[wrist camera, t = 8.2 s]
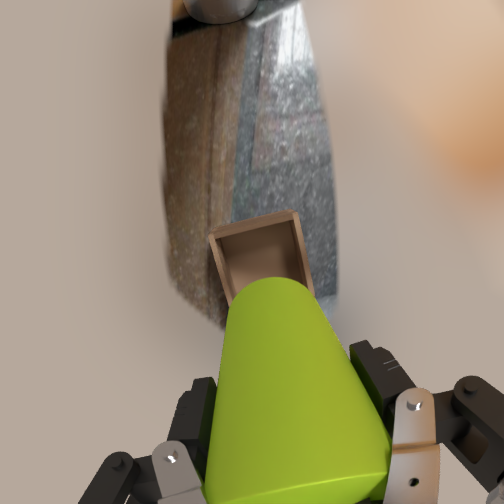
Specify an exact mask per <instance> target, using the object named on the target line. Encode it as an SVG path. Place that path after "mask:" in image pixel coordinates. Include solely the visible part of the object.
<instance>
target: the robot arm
mask: <svg viewBox="0 0 504 504" xmlns="http://www.w3.org/2000/svg"><path fill="white" fill-rule="evenodd" d="M183 2H184V5H185V7H186V10H187V12H188V13H189V15H190V16H191V17H193V18H194V19H196V20H198V21H200V22H204V23H209V24H224V23H230V22H234V21H238V20H240V19H242V18H244V17H246V16H247V15H249V14H250V13H251V12H253V11H254V10H255V8H256V6H257V4H258V0H183ZM349 348H350V349H349V350H350V361H351V363H352V365H353V367H354V369H355V371H356V372H357V374H358V376H359V378H360V380H361V382H362V384H363V385H364V387H365V389H366V391H367V393H368V395H369V397H370V399H371V401H372V402H373V404H374V406H375V408H376V410H377V412H378V414H379V416H380V418H381V420H382V422H383V424H384V426H385V428H386V430H387V432H388V434H389V436H390V437H391V439H392V450H391V461H390V469H389V475H388V479H387V483H386V488H385V493H384V498H383V500H372V501H371V500H370V497H368V498H366V499H364V500H362V501H359V502H357V503H355V504H437V502H438V492H439V478H440V445H439V443H443V444H444V445H445V446H446V447H447V448H448V449H449V450H450V451H451V452H452V453H453V455H454V456H456V458H457V459H458V460H459V461H460V462H461V463H462V464H463V465H464V466H465V468H466V469H467V470H468V471H469V472H470V473H471V474H472V475H473V476H474V477H475V478H476V479H477V481H479V483H480V484H481V485H482V486H483V487H484V488H485V489H486V490H487V492H488V493H489V495H488V497H487V501H486V504H504V394H502V393H501V392H500V391H498V390H497V389H495V388H494V387H493V386H491V385H490V384H489V383H487V382H486V381H485V380H483V379H482V378H480V377H478V376H466V377H463V378H462V379H460V380H459V381H457V383H456V384H455V386H454V390H450V391H446V392H442V393H437V394H431V393H430V392H429V391H428V390H426V389H423V388H417V387H416V386H415V384H414V383H413V382H412V380H411V379H410V378H409V376H408V375H407V373H406V372H405V371H404V370H403V368H402V367H401V366H400V365H399V363H398V362H397V361H396V360H395V358H394V357H393V355H392V354H391V353H390V351H388V350H386V349H384V348H382V347H378V348H375V349H373V348H372V346H371V345H370V344H369V342H368V341H367V340H363V341H360V342H358V343H354V344H351V345H350V347H349ZM216 392H217V386H216V384H215V382H214V379H213V378H212V377H205V378H199V379H195V380H194V381H193V385H192V389H191V391H185V393H184V394H183V395H182V396H181V397H180V398H179V400H178V404H177V407H176V408H177V410H176V411H175V414H174V417H173V421H172V424H171V428H170V431H169V434H168V438H167V441H166V442H163V443H161V444H160V445H158V446H157V447H156V448H155V449H154V451H153V453H152V455H150V456H145V457H141V458H136V459H133V458H132V457H131V456H130V455H129V454H128V453H126V452H115V453H112V454H111V455H109V456H108V457H107V458H106V459H105V460H104V462H103V464H102V465H101V467H100V468H99V470H98V472H97V473H96V475H95V476H94V478H93V480H92V481H91V483H90V485H89V486H88V488H87V489H86V491H85V493H84V494H83V496H82V498H81V499H80V501H79V502H78V504H124V503H125V501H126V499H127V497H128V495H130V496H129V498H128V500H127V502H126V504H209V502H208V499H207V495H206V491H205V484H204V483H205V475H206V467H207V459H208V451H209V444H210V436H211V429H212V421H213V414H214V407H215V399H216Z"/></svg>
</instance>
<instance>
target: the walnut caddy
mask: <svg viewBox="0 0 504 504" xmlns="http://www.w3.org/2000/svg"><path fill="white" fill-rule="evenodd" d="M208 238H209V241H210V245H211V248H212V252H213V255H214V259H215V262H216V265H217V269H218V272H219V275H220V279H221V282H222V285H223V289H224V292H225V295H226V298H227V302H228V305H229V308H230V305H231V303H232V301H233V299H234V298H235V297H236V295H237V294H238V293H239V292H240V291H241V290H242V289H243V288H244V287H246V286H247V285H249V284H251V283H253V282H255V281H257V280H260V279H264V278H269V277H283V278H288V279H292V280H294V281H297V282H299V283H300V284H302V285H303V286H305V287H306V288H307V289H308V290H309V291H310V292H311V293H312V294H313V296H314V297H315V294H314V289H313V283H312V278H311V273H310V268H309V263H308V258H307V253H306V248H305V244H304V239H303V234H302V230H301V225H300V221H299V216H298V213H297V212H295V211H294V210H292V209H287V210H283V211H278V212H274V213H270V214H266V215H262V216H258V217H254V218H250V219H246V220H242V221H238V222H235V223H231V224H227V225H223V226H219V227H215V228H214V229H213V230H212V231H211V232H210V233H209V235H208Z"/></svg>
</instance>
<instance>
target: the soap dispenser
mask: <svg viewBox="0 0 504 504" xmlns="http://www.w3.org/2000/svg"><path fill="white" fill-rule="evenodd" d="M391 450H392V439H391V437H390V436H389V434H388V432H387V430H386V428H385V426H384V424H383V422H382V420H381V418H380V416H379V414H378V412H377V410H376V408H375V406H374V404H373V402H372V401H371V399H370V397H369V395H368V393H367V391H366V389H365V387H364V385H363V384H362V382H361V380H360V378H359V376H358V374H357V372H356V371H355V369H354V367H353V365H352V363H351V361H350V360H349V358H348V356H347V354H346V352H345V350H344V349H343V347H342V345H341V344H340V342H339V340H338V338H337V336H336V334H335V333H334V331H333V329H332V327H331V325H330V324H329V322H328V320H327V318H326V317H325V315H324V313H323V311H322V310H321V308H320V306H319V304H318V303H317V301H316V299H315V297H314V296H313V294H312V293H311V292H310V291H309V290H308V289H307V288H306V287H305V286H303V285H302V284H300V283H299V282H297V281H294V280H292V279H288V278H283V277H269V278H264V279H260V280H257V281H255V282H253V283H251V284H249V285H247V286H246V287H244V288H243V289H242V290H241V291H240V292H239V293H238V294H237V295H236V297H235V298H234V299H233V301H232V303H231V305H230V308H229V311H228V317H227V323H226V330H225V337H224V344H223V350H222V357H221V364H220V371H219V378H218V385H217V392H216V399H215V407H214V414H213V421H212V429H211V436H210V444H209V451H208V459H207V467H206V475H205V483H204V484H205V491H206V495H207V499H208V502H209V504H355V503H357V502H359V501H362V500H364V499H366V498H368V497H370V500H371V501H372V500H383V498H384V493H385V488H386V483H387V479H388V475H389V469H390V461H391Z"/></svg>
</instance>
